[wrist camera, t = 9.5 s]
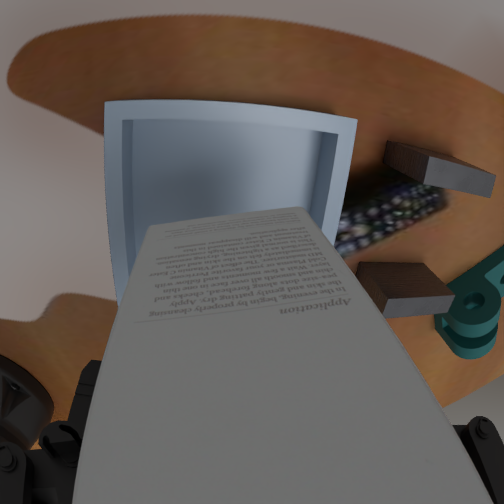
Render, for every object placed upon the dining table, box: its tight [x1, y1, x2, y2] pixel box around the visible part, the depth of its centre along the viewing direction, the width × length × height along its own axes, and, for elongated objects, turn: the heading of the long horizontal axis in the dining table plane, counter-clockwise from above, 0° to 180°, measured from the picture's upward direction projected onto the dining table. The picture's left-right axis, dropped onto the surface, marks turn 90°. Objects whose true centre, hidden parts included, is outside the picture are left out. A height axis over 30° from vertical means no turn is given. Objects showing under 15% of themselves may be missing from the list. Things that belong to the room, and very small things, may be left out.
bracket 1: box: [355, 140, 496, 318], centre depth 25 cm, size 8×14×6 cm, turn 174°
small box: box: [72, 206, 493, 504], centre depth 9 cm, size 8×6×13 cm
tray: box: [104, 99, 357, 308], centre depth 23 cm, size 16×16×4 cm
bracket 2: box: [434, 245, 504, 359], centre depth 30 cm, size 18×7×8 cm, turn 116°
